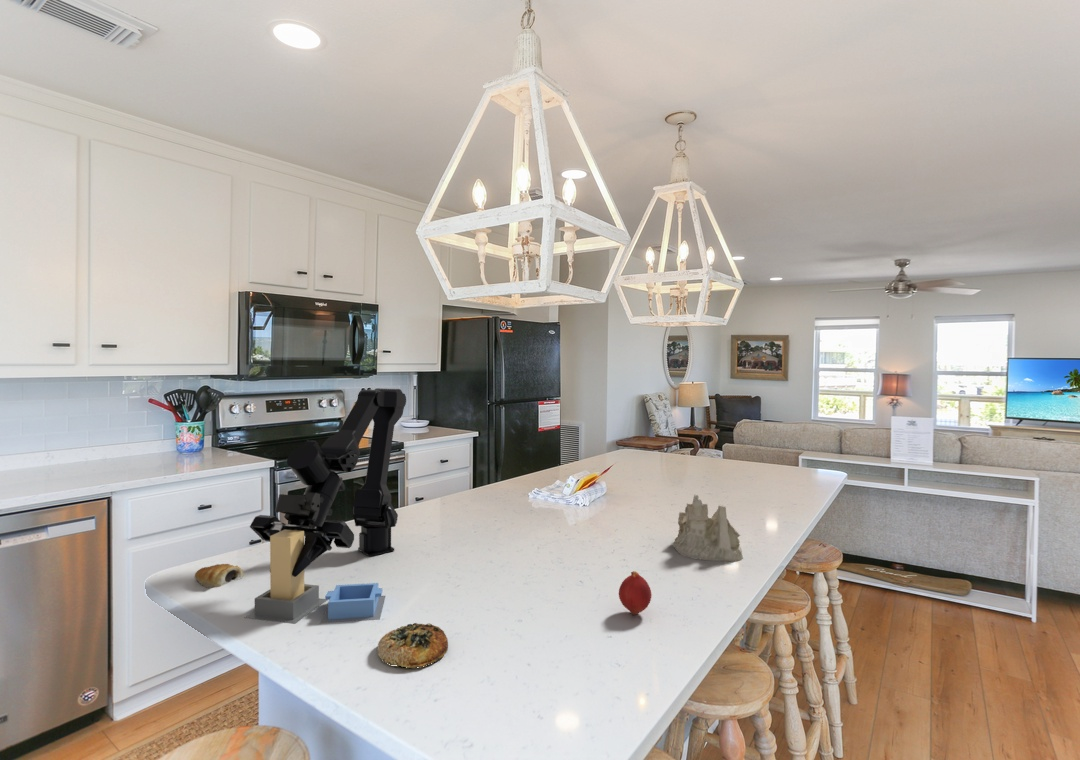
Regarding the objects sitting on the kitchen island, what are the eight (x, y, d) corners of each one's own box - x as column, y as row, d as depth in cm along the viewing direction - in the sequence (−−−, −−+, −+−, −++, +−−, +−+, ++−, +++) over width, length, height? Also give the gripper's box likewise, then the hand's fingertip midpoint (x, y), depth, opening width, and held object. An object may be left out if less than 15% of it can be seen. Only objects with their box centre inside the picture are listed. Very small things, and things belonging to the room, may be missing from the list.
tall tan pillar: (284, 598, 104) (284, 529, 104) (304, 600, 103) (304, 530, 103) (270, 608, 100) (270, 536, 100) (290, 610, 99) (290, 537, 99)
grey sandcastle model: (743, 564, 128) (742, 497, 129) (670, 558, 134) (669, 494, 134) (742, 547, 143) (740, 488, 144) (676, 542, 148) (675, 485, 149)
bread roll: (452, 634, 94) (451, 606, 93) (443, 680, 83) (441, 649, 82) (386, 636, 94) (383, 609, 93) (368, 683, 83) (365, 652, 82)
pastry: (184, 584, 114) (184, 565, 114) (214, 573, 120) (214, 555, 120) (218, 591, 110) (218, 572, 110) (247, 579, 117) (247, 561, 117)
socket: (280, 597, 108) (280, 579, 107) (328, 602, 106) (328, 583, 106) (243, 621, 98) (243, 600, 98) (295, 626, 96) (295, 606, 96)
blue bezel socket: (330, 601, 106) (331, 582, 106) (385, 598, 108) (385, 580, 108) (319, 626, 96) (319, 605, 96) (379, 622, 98) (379, 602, 98)
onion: (629, 604, 107) (629, 562, 106) (656, 613, 103) (657, 570, 103) (612, 614, 102) (613, 571, 102) (640, 624, 98) (641, 579, 98)
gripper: (256, 473, 107) (212, 549, 96) (346, 478, 103) (310, 558, 93) (283, 503, 115) (245, 577, 104) (367, 509, 111) (337, 586, 101)
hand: (282, 574), depth 100 cm, fingers closed on tall tan pillar, 4 cm apart
